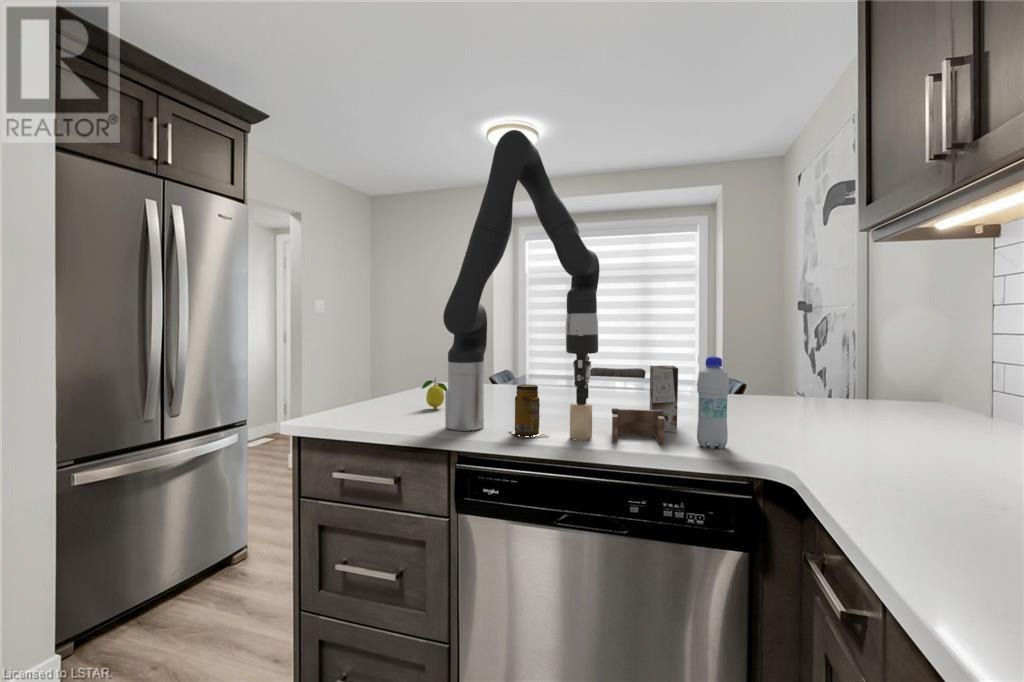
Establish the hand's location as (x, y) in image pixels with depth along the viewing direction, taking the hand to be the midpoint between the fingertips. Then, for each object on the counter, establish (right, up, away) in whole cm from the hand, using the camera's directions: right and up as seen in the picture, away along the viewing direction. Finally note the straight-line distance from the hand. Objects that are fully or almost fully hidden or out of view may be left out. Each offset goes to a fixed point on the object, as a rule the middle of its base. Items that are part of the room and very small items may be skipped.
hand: (582, 401), depth 119 cm
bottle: (+28, -9, -8) cm, 30 cm away
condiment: (-13, -9, +4) cm, 16 cm away
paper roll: (0, -9, 0) cm, 9 cm away
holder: (+13, -9, 0) cm, 15 cm away
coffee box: (+22, -9, +12) cm, 27 cm away
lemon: (-41, -7, +40) cm, 58 cm away
